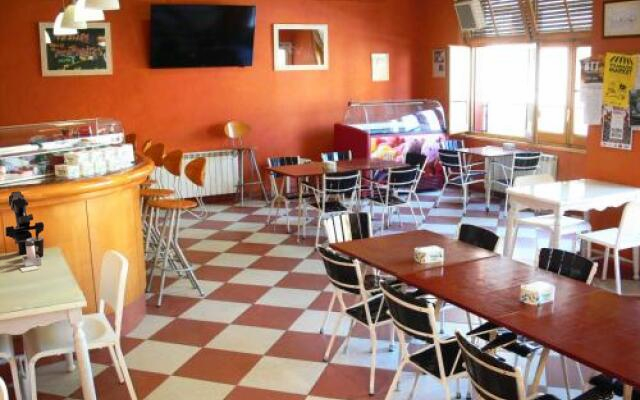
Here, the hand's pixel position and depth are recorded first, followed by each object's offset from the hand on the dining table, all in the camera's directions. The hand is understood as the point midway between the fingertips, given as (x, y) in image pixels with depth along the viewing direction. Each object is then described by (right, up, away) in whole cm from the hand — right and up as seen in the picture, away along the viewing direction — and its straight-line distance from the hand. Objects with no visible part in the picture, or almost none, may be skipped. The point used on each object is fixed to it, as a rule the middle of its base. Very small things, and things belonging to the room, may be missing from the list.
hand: (28, 242), depth 350 cm
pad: (+5, -13, -10) cm, 17 cm away
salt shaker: (+3, -12, -2) cm, 12 cm away
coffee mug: (-2, -9, +13) cm, 16 cm away
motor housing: (+3, -12, -2) cm, 12 cm away
